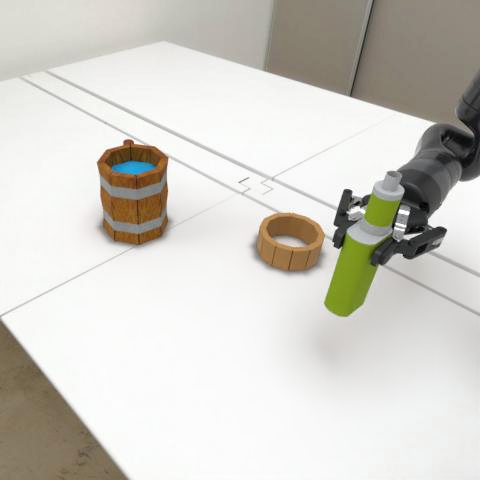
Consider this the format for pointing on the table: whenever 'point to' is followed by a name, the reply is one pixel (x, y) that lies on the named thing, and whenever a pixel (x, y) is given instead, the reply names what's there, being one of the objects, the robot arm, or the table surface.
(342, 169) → the table surface
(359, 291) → the vape
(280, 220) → the wooden ring
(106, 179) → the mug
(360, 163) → the table surface
